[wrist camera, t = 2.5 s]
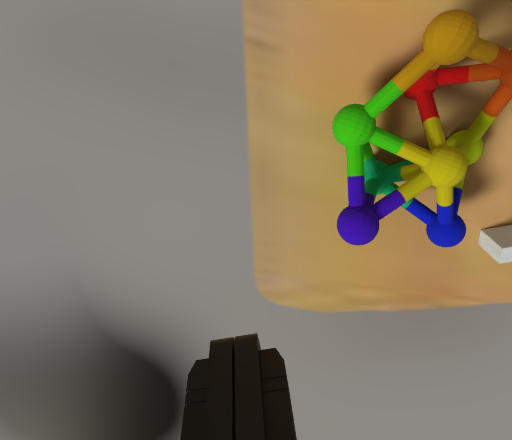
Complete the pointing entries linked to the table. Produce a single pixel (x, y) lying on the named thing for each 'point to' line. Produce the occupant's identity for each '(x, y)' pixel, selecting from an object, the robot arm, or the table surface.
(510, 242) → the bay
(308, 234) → the table surface
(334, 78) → the table surface
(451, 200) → the decorative model
